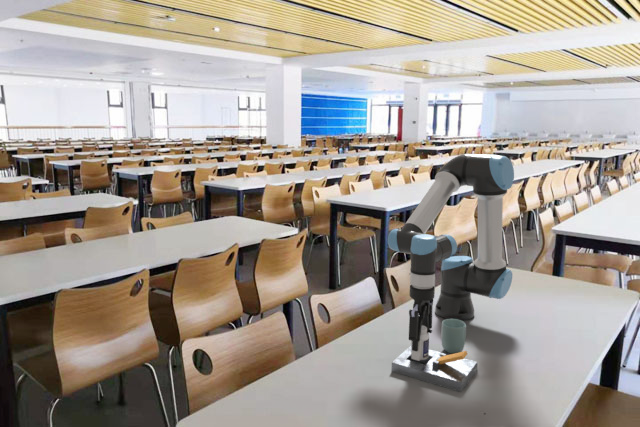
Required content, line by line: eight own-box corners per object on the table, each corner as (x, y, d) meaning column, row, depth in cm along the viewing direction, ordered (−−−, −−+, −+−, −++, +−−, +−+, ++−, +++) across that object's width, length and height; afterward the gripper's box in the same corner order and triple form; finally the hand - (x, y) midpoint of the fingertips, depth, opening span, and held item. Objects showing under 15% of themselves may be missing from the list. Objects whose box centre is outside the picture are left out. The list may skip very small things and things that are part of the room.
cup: (448, 357, 169) (449, 329, 167) (436, 347, 176) (437, 320, 174) (469, 354, 171) (470, 326, 169) (456, 344, 178) (458, 317, 176)
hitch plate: (411, 353, 172) (411, 339, 171) (476, 370, 160) (477, 356, 159) (391, 371, 160) (391, 356, 159) (460, 392, 148) (461, 376, 147)
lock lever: (439, 360, 161) (438, 356, 161) (468, 354, 155) (466, 349, 155) (434, 366, 157) (432, 362, 157) (463, 360, 152) (461, 355, 152)
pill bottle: (426, 352, 165) (427, 323, 163) (430, 360, 160) (431, 330, 158) (409, 352, 165) (410, 324, 163) (412, 360, 159) (413, 331, 158)
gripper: (422, 275, 167) (420, 342, 172) (398, 291, 152) (396, 364, 157) (444, 279, 163) (441, 347, 167) (421, 296, 148) (419, 370, 152)
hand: (419, 355), depth 162 cm, fingers closed on pill bottle, 5 cm apart
